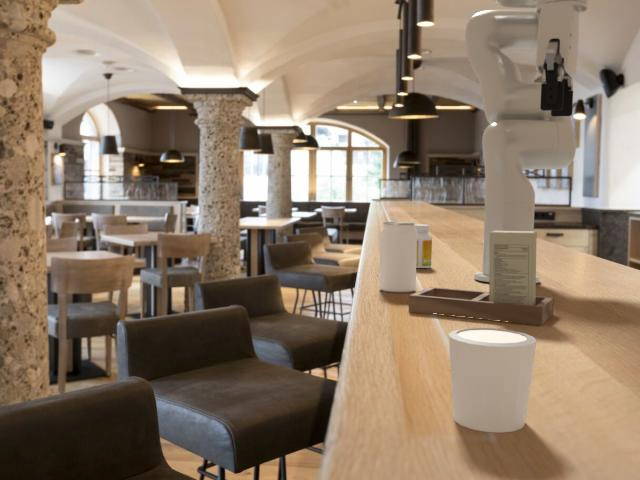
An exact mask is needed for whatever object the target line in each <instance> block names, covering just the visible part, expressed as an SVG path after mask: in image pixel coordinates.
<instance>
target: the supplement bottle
mask: <svg viewBox="0 0 640 480" xmlns="http://www.w3.org/2000/svg"><path fill="white" fill-rule="evenodd" d="M415 228H416V231H417V260H416V268H427V269H431V268H430V267H432V251H433V238H432V235H431V234H430V233H429V232H430V225H429V224H418V223H417V224H416V223H415Z"/></svg>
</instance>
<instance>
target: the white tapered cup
mask: <svg viewBox="0 0 640 480" xmlns="http://www.w3.org/2000/svg"><path fill="white" fill-rule="evenodd" d="M448 342H449V343H448V344H449V345H448V347H449V359H450V362H449V363H450V375H451V376H450V377H451V378H450V379H451V394H452V396H451V397H452V411H453V419H454V422H456V423H457V424H458V425H460V426H462V427H464V428H467V429H469V430H470V429H471V430H474V431H479V432H483V433H484V432H485V433H498V434H499V433H501V434H502V433H510V432H512V433H513V432H515V431H519V430H521V429H523V428H524V426H525V425H526V417H527V410H528V403H529V396H530V391H531V390H530V388H531V383H532V382H531V381H532V376H533V375H532V373H533V367H534V361H535V354H536V346H537V339H536V338H535V337H534V336H532V335H530V334H528V333H524V332H520V331H514V330H510V329H502V328H495V327H494V328H492V327H491V328H490V327H489V328H488V327H475V328H474V327H472V328H471V327H470V328H469V327H468V328H461V329H455V330H452V331H451V332H448Z"/></svg>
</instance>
